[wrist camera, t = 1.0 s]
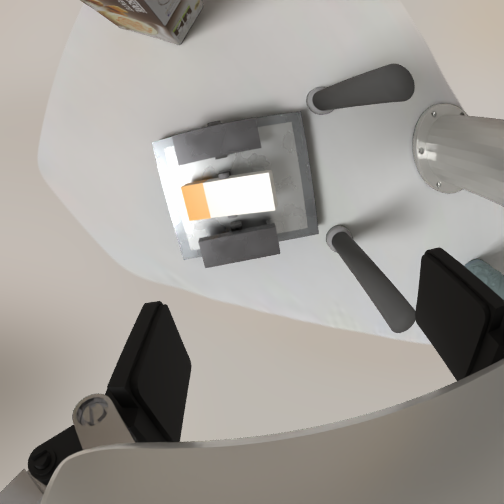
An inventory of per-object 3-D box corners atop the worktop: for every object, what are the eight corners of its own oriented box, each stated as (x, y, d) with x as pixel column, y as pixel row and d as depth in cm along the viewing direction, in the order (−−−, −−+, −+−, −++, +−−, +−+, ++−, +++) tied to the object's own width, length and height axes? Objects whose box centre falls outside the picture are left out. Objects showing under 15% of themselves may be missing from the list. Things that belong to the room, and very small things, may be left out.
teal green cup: (479, 300, 44) (516, 335, 33) (442, 310, 43) (479, 352, 32) (492, 251, 39) (536, 282, 28) (455, 257, 39) (501, 295, 28)
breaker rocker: (270, 165, 27) (267, 168, 26) (278, 209, 29) (276, 214, 28) (185, 179, 30) (178, 183, 28) (195, 219, 32) (189, 224, 30)
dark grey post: (330, 87, 30) (414, 59, 13) (335, 113, 31) (423, 107, 14) (304, 89, 30) (370, 56, 13) (309, 116, 31) (379, 108, 14)
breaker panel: (295, 109, 31) (307, 105, 25) (314, 229, 36) (326, 248, 31) (157, 138, 31) (141, 140, 26) (187, 254, 37) (179, 276, 32)
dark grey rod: (348, 223, 36) (422, 298, 20) (350, 246, 38) (417, 330, 21) (324, 227, 36) (387, 309, 20) (327, 250, 38) (384, 341, 21)
